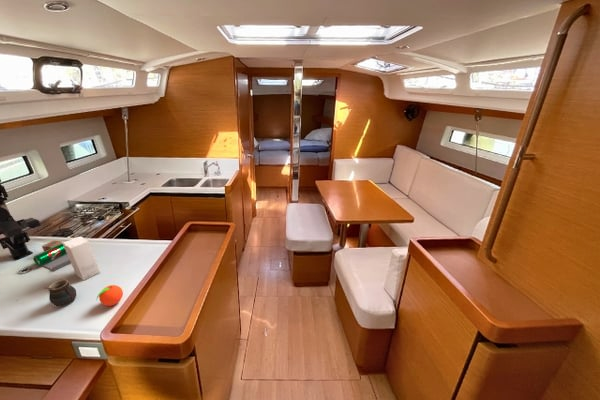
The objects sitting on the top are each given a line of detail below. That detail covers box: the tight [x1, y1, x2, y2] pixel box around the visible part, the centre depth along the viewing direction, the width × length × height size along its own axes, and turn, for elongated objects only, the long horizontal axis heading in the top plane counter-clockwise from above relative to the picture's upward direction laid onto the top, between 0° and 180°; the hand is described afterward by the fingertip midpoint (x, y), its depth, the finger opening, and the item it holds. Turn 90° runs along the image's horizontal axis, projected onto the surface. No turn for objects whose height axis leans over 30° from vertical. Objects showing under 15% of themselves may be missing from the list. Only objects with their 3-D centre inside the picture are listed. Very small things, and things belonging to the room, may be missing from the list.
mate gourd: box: [44, 279, 77, 307], centre depth 94 cm, size 7×8×10 cm
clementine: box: [96, 284, 124, 307], centre depth 94 cm, size 8×7×7 cm
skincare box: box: [62, 235, 101, 281], centre depth 108 cm, size 8×7×16 cm
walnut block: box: [41, 240, 63, 252], centre depth 125 cm, size 5×5×5 cm
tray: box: [42, 253, 72, 272], centre depth 121 cm, size 14×13×2 cm
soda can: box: [32, 243, 66, 267], centre depth 120 cm, size 5×5×12 cm
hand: (15, 249), depth 106 cm, fingers closed
